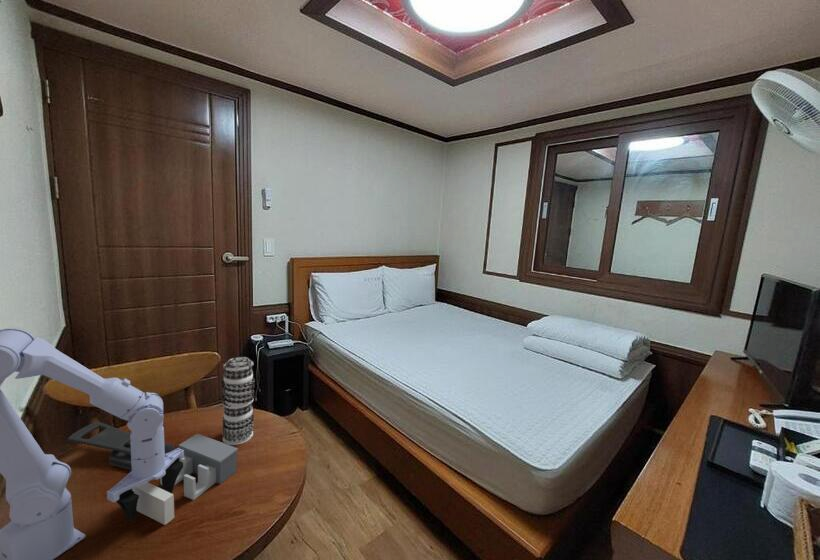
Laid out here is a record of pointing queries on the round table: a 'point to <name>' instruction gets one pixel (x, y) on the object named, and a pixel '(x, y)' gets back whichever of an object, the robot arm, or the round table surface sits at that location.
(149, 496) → the door panel
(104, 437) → the zipper pull
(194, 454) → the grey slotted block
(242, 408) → the decorative candle
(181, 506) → the round table surface
